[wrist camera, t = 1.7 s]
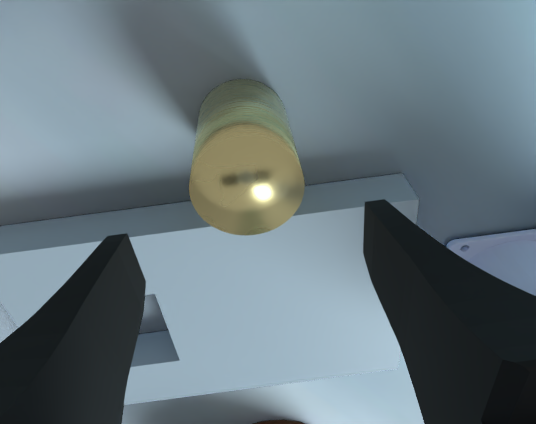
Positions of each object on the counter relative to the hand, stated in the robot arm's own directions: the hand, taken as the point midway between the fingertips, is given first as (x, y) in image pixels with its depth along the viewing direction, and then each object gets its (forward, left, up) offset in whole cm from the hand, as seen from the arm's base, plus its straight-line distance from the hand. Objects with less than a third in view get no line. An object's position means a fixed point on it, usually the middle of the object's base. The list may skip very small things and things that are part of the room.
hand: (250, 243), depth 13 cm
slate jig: (+3, +11, -9) cm, 15 cm away
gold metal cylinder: (0, 0, -9) cm, 9 cm away
